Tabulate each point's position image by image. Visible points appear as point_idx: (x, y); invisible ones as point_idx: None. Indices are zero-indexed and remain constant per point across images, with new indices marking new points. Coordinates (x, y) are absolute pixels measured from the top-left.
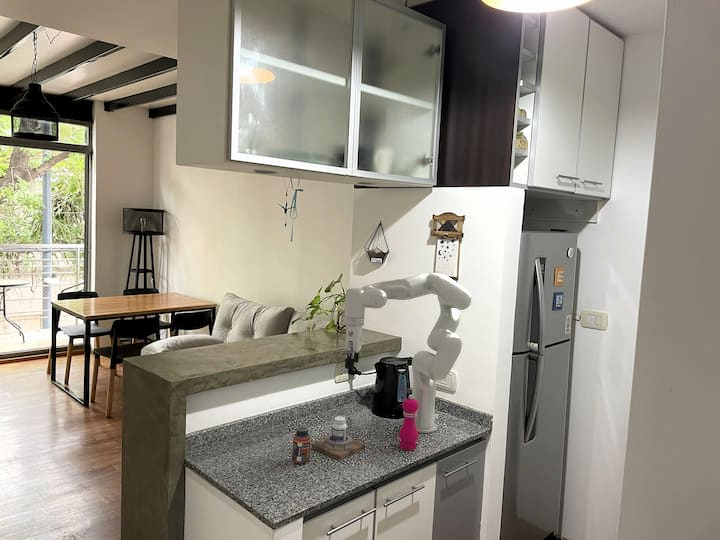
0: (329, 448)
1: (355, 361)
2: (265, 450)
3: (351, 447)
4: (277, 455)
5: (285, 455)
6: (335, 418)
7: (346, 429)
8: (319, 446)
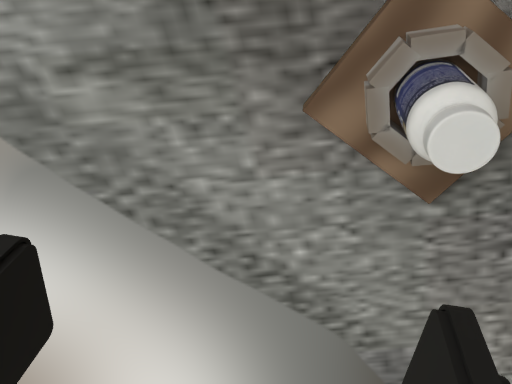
0: None
1: (34, 280)
2: None
3: (471, 26)
4: (494, 289)
5: (496, 268)
6: (466, 169)
7: (467, 81)
8: None
